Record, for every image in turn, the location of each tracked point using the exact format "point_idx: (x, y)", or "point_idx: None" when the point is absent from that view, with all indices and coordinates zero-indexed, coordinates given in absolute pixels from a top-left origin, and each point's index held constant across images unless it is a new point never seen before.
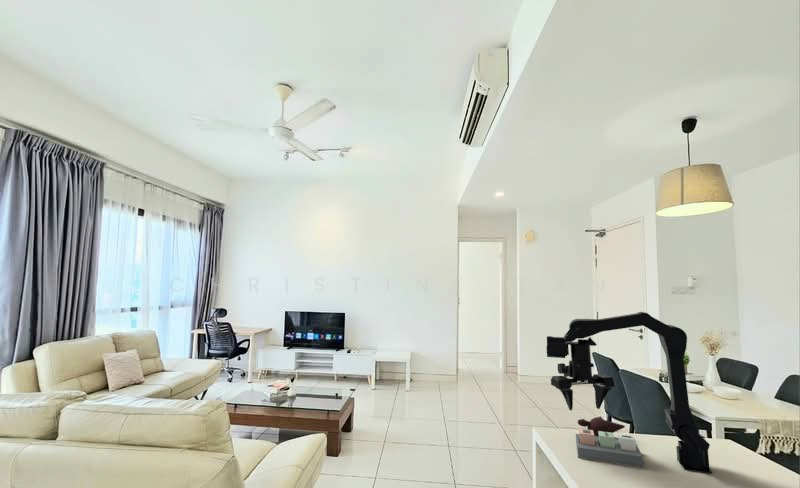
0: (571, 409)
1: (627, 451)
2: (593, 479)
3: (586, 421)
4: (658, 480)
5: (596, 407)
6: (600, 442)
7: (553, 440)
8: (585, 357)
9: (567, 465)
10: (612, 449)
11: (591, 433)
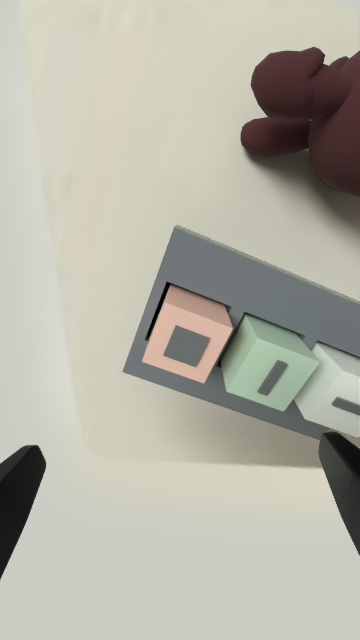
0: (35, 479)
1: (296, 407)
2: (125, 453)
3: (316, 98)
4: (286, 463)
5: (323, 437)
6: (223, 373)
7: (79, 185)
8: None
9: (80, 393)
10: None
11: (201, 365)
